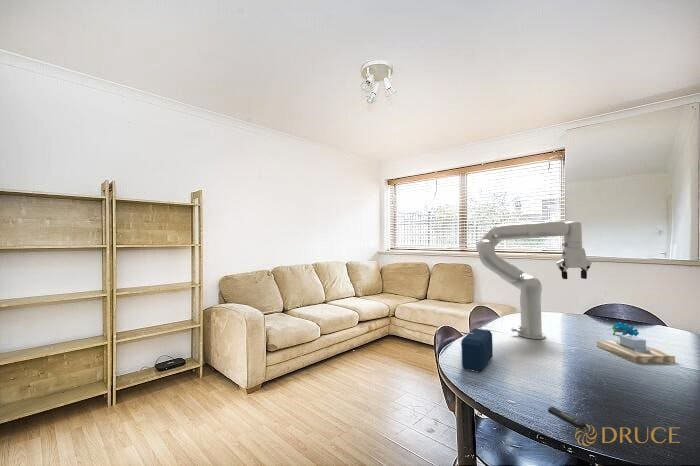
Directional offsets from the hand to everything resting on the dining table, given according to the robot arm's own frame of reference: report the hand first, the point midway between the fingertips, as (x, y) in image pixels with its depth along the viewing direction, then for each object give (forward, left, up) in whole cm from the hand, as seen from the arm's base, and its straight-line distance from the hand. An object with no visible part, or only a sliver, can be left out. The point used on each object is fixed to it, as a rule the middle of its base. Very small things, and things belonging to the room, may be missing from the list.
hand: (574, 278), depth 158 cm
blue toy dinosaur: (+27, +3, -31) cm, 41 cm away
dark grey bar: (-53, -71, -31) cm, 94 cm away
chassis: (+9, -22, -30) cm, 39 cm away
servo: (+9, -22, -30) cm, 39 cm away
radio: (-63, -32, -31) cm, 77 cm away
